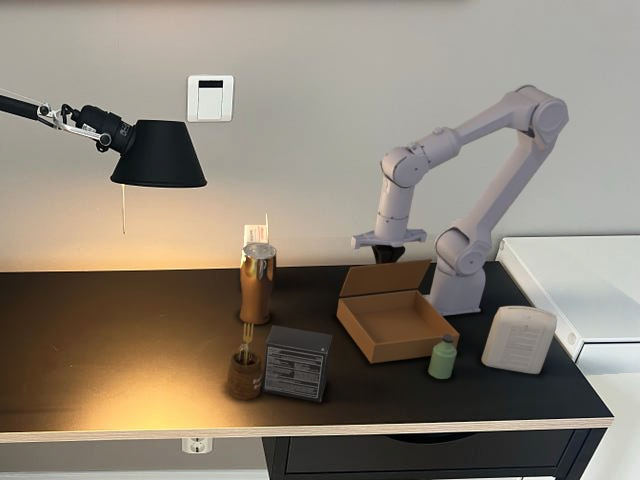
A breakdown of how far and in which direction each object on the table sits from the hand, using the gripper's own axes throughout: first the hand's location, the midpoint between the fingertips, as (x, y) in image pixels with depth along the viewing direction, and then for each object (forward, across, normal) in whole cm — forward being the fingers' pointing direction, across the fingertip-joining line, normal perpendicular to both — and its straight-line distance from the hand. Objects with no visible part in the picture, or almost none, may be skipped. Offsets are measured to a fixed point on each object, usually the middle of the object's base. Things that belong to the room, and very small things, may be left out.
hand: (381, 276), depth 149 cm
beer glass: (+9, -24, +4) cm, 26 cm away
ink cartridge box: (+9, -21, +18) cm, 28 cm away
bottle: (+8, +3, -22) cm, 24 cm away
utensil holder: (+9, -33, -20) cm, 40 cm away
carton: (+8, 0, -8) cm, 12 cm away
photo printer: (+9, +17, -22) cm, 29 cm away
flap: (0, 0, -1) cm, 2 cm away
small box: (+9, -24, -20) cm, 33 cm away
